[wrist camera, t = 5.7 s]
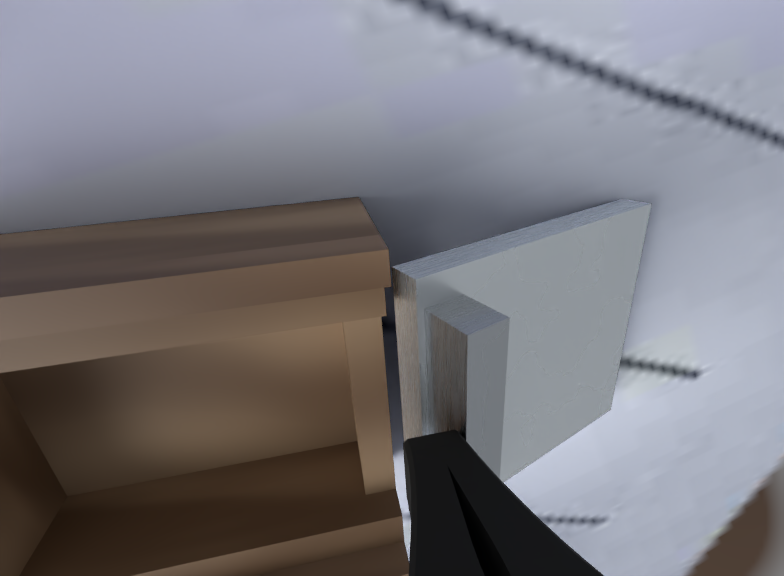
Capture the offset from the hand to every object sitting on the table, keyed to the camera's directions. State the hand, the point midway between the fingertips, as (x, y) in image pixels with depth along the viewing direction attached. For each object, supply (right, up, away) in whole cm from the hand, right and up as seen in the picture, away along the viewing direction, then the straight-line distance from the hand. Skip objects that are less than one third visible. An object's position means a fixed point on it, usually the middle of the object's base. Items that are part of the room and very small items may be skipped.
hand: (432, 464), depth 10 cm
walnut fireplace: (-7, +1, +4) cm, 9 cm away
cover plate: (+3, +2, +4) cm, 6 cm away
